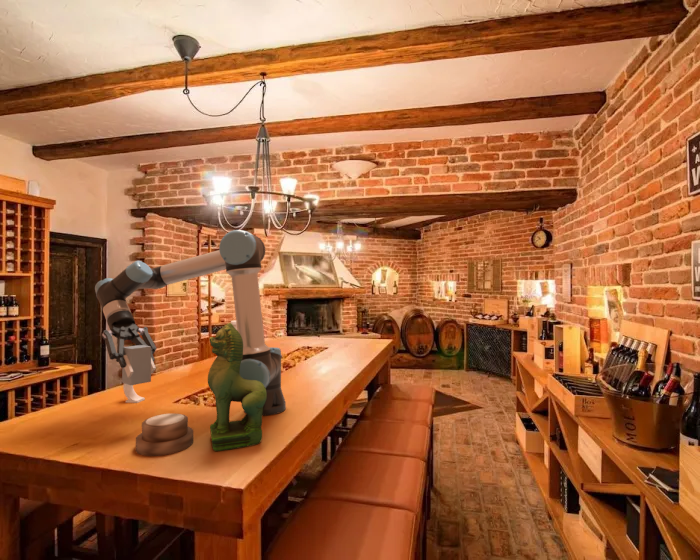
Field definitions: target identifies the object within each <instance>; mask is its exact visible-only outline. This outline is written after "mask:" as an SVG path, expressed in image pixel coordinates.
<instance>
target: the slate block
mask: <svg viewBox="0 0 700 560" xmlns="http://www.w3.org/2000/svg"><path fill="white" fill-rule="evenodd" d="M123 348H124V354H123V356H124V355H127V357H128V359H129V362H130V364H131V367H132V369H133V373H132V375H131V377H129V378H128V376H127V374H126V371H125V369H124V368H121V369H122V370H121V371H122V372H121V373H122V374H121V375H122V376H121V382H122V383H123V384H124V383H125V384H128V385H133V386H135V385H140V384H146V383H150V382H152V373H151V346H145V345H131V346H130V345H129V346H124V347H123Z"/></svg>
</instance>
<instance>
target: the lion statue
mask: <svg viewBox="0 0 700 560" xmlns="http://www.w3.org/2000/svg"><path fill="white" fill-rule="evenodd" d="M209 343H210V346H211V347H212V348H211V352H212V354H214V355H216V357H215V359H214V360H213V362H212V364H211V365H210V368H209V370H208V373H207V374H208V375H207V385H208V387H209V390H211V392H212V393H213V395H214V399H215V409H216V410H215V411H216V420H215V421H214V422H213V423H211V424H210V428H209V429H210V437H211V439H210V440H211V444H212V445H211V446H212V450H213V451H214V452H220V451H223V452H224V451H230V450H234V449H239V448H240V449H242V448H247V447H248V448H249V447H251V446H255V445H258V444H260V443H261V442H262V438H263V430H262V423H263V416H262V412H263V406H264V404H265V401H266V397H267V392H266V388H265V386H264V385H263V384H262V383H261V382H260V381H257V380H246V379H243V378H242V377H241V376H240V373H239V372H240V364H241V361H242V358H243V340H242V337H241V335H240V333H239V332H238V331H237V330H236V329H235V328H234V326H233V325H232V324H231V322H228V323H226V324H225V325H223V326H222V327H221V328H220V329H219V330H217V332H216V333H215V336H210V337H209ZM231 402H235V403H236V402H237V403H241V407H242V410H243V412H244V411H245V412H246V413H245V412H244V413H245V415H244V417H243V418H242V419H241V420H234V421H233V420H232V421H230V410H231Z"/></svg>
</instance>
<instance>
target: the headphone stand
mask: <svg viewBox="0 0 700 560" xmlns="http://www.w3.org/2000/svg"><path fill="white" fill-rule="evenodd" d="M122 386H123V388H122V389H123V392H124V395H125V397H126V398H127V399H125V403H127V404H128V403H131V404H138V403H141V402H143V401H145V400H146V399H145V397H143V396H140V395H138V394H137V393H136V391H135V389H134V385H128V384H125V383H123V385H122Z"/></svg>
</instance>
